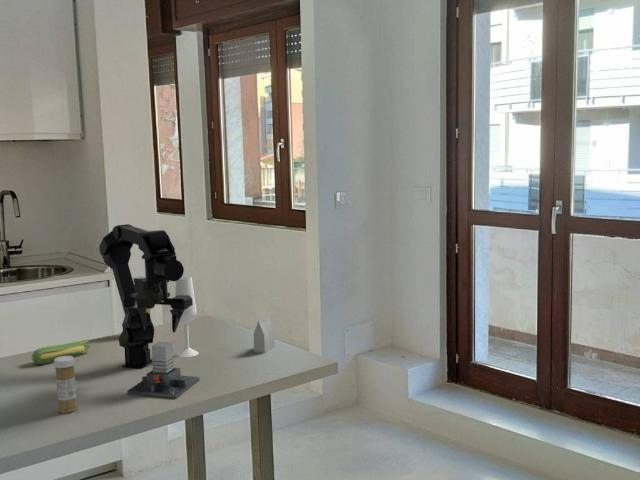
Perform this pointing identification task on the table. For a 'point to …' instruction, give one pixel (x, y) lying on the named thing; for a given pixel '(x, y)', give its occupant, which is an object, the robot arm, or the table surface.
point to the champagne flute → (186, 312)
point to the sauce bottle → (140, 287)
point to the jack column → (162, 358)
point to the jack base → (163, 385)
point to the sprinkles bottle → (65, 384)
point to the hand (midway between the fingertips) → (159, 331)
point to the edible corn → (59, 352)
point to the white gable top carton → (263, 336)
